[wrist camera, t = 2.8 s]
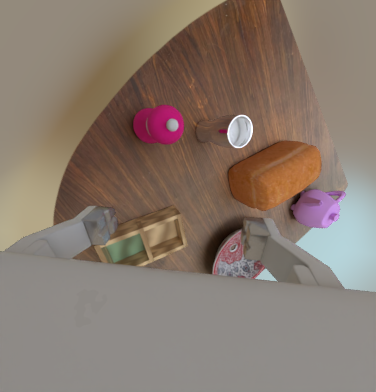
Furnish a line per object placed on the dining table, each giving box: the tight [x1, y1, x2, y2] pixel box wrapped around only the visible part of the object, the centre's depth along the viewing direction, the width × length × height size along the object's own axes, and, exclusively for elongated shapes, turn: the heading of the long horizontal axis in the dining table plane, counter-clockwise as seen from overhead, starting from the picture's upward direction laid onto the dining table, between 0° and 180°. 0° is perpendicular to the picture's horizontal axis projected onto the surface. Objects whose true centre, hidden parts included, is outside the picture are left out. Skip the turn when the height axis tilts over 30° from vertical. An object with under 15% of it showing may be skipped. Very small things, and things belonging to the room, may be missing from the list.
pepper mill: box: [133, 105, 184, 144], centre depth 33 cm, size 7×7×20 cm
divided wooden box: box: [94, 205, 188, 267], centre depth 48 cm, size 23×12×6 cm, turn 100°
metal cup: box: [196, 115, 253, 148], centre depth 42 cm, size 7×7×15 cm
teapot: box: [291, 189, 346, 228], centre depth 73 cm, size 20×20×15 cm
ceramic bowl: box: [212, 228, 265, 279], centre depth 67 cm, size 29×29×8 cm
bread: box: [228, 141, 321, 211], centre depth 55 cm, size 14×26×16 cm, turn 110°
